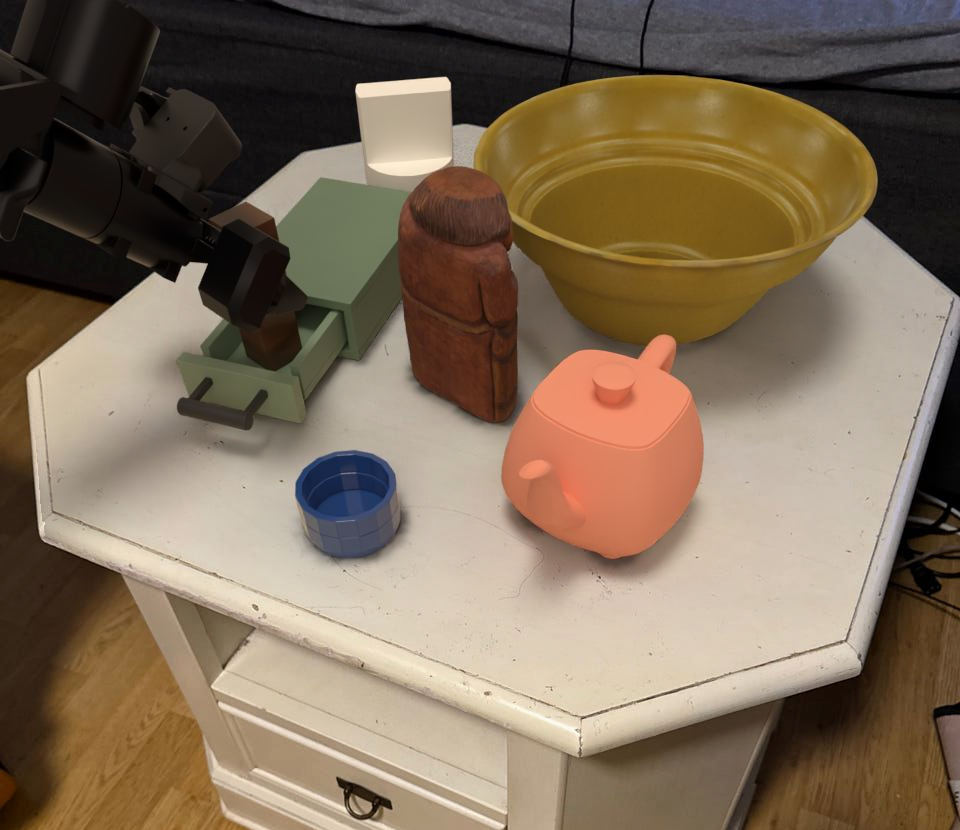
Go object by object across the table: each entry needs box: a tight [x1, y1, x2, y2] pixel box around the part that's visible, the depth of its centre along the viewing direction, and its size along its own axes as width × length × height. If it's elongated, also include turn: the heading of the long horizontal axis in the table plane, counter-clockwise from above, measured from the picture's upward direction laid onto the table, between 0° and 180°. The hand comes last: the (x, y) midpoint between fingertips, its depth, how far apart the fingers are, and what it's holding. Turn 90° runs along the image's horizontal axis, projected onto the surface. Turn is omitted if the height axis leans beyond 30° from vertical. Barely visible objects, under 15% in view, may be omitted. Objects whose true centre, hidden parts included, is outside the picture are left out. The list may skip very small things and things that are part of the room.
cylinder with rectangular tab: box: [355, 76, 455, 192], centre depth 86 cm, size 9×9×12 cm
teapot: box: [501, 335, 705, 560], centre depth 60 cm, size 13×20×12 cm, turn 146°
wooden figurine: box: [398, 165, 519, 423], centre depth 66 cm, size 12×6×18 cm, turn 49°
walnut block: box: [208, 201, 302, 372], centre depth 69 cm, size 4×4×12 cm
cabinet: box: [276, 176, 412, 361], centre depth 80 cm, size 19×12×6 cm, turn 161°
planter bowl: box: [472, 74, 879, 347], centre depth 75 cm, size 32×32×13 cm
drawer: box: [175, 304, 348, 431], centre depth 73 cm, size 22×10×4 cm, turn 161°
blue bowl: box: [294, 449, 402, 559], centre depth 63 cm, size 7×7×4 cm
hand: (267, 279), depth 68 cm, fingers open, 9 cm apart
